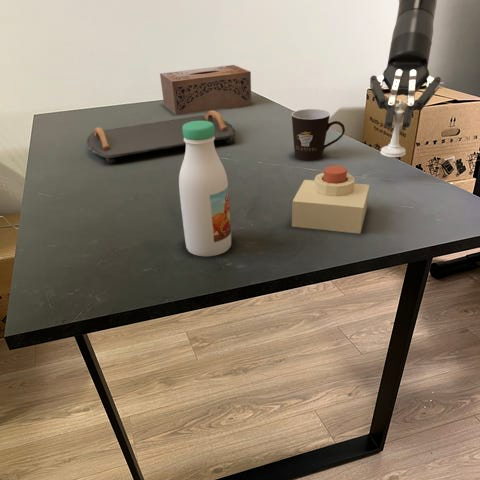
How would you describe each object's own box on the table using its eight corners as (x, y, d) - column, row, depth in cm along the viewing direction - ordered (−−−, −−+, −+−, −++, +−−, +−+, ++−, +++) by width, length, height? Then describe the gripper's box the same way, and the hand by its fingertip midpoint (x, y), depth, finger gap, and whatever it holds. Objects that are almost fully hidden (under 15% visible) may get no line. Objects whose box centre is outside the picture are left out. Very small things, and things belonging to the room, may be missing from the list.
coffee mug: (282, 158, 113) (283, 114, 107) (306, 149, 117) (308, 107, 111) (320, 170, 106) (323, 123, 100) (344, 160, 110) (348, 115, 104)
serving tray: (214, 123, 139) (213, 101, 135) (246, 144, 122) (245, 119, 118) (82, 144, 128) (76, 120, 124) (97, 171, 111) (90, 144, 107)
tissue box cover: (235, 96, 165) (233, 64, 159) (251, 105, 154) (250, 71, 148) (164, 106, 158) (159, 73, 152) (176, 116, 147) (171, 81, 141)
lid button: (347, 177, 84) (348, 166, 83) (344, 186, 81) (345, 174, 80) (325, 175, 85) (326, 164, 84) (321, 184, 82) (322, 172, 81)
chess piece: (375, 151, 97) (382, 98, 90) (396, 147, 98) (405, 95, 91) (388, 158, 93) (397, 104, 87) (410, 155, 94) (420, 101, 88)
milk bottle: (199, 263, 75) (186, 135, 63) (178, 244, 81) (162, 123, 68) (240, 249, 78) (234, 124, 66) (217, 232, 84) (208, 113, 71)
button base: (366, 210, 88) (371, 174, 84) (360, 235, 81) (365, 197, 76) (303, 204, 92) (305, 169, 87) (291, 228, 84) (292, 190, 80)
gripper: (375, 30, 90) (360, 115, 88) (452, 29, 86) (438, 118, 84) (373, 56, 97) (360, 135, 95) (445, 57, 93) (432, 139, 92)
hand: (396, 127), depth 90 cm, fingers closed on chess piece
